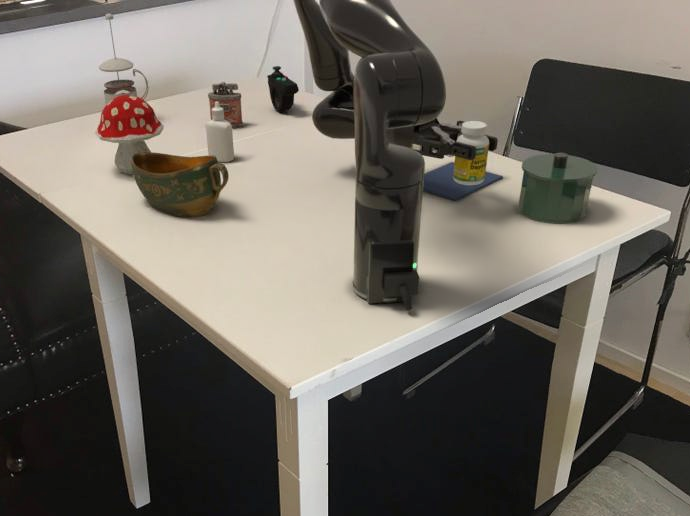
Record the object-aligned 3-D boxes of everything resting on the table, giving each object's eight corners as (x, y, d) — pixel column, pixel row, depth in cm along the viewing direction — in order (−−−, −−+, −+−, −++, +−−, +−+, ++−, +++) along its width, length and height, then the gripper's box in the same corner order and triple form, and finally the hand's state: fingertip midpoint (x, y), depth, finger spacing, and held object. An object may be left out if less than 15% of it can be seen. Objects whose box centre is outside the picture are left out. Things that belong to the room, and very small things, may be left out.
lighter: (208, 127, 182) (204, 84, 177) (213, 123, 185) (209, 80, 179) (240, 129, 180) (237, 85, 174) (245, 124, 183) (242, 81, 177)
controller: (282, 104, 196) (280, 63, 190) (301, 117, 186) (300, 74, 180) (266, 106, 194) (264, 65, 189) (285, 119, 185) (283, 76, 179)
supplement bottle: (468, 172, 135) (474, 117, 129) (491, 181, 131) (498, 124, 126) (445, 179, 132) (451, 123, 127) (468, 188, 129) (475, 131, 123)
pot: (595, 221, 130) (604, 179, 126) (530, 225, 130) (536, 182, 126) (571, 196, 139) (579, 156, 135) (510, 199, 139) (516, 159, 135)
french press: (102, 121, 190) (84, 12, 176) (148, 115, 192) (134, 7, 178) (107, 132, 182) (89, 19, 168) (155, 126, 185) (141, 14, 171)
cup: (169, 234, 133) (162, 178, 127) (131, 197, 148) (123, 145, 142) (236, 218, 138) (232, 163, 132) (193, 183, 152) (188, 132, 147)
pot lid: (608, 183, 126) (612, 165, 124) (534, 187, 126) (537, 169, 124) (580, 158, 136) (583, 141, 134) (511, 162, 136) (514, 144, 134)
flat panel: (502, 178, 148) (502, 176, 148) (455, 200, 140) (455, 198, 140) (451, 163, 156) (451, 161, 155) (404, 184, 148) (404, 182, 147)
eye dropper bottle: (224, 153, 166) (220, 97, 160) (236, 161, 162) (232, 103, 155) (206, 157, 165) (201, 100, 158) (217, 165, 161) (213, 107, 154)
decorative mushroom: (123, 186, 153) (111, 110, 144) (89, 169, 162) (77, 96, 153) (181, 168, 160) (173, 95, 151) (146, 153, 169) (136, 82, 160)
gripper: (379, 116, 131) (461, 137, 121) (432, 98, 139) (513, 116, 129) (377, 159, 136) (457, 182, 125) (428, 139, 143) (507, 160, 133)
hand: (485, 149), depth 127 cm, fingers closed on supplement bottle, 5 cm apart
